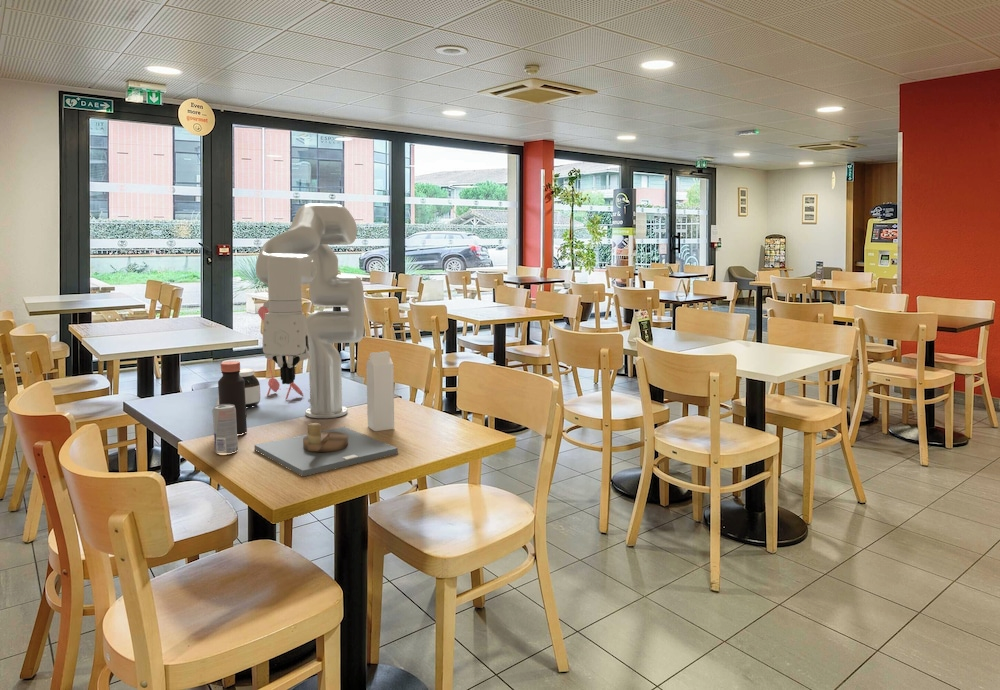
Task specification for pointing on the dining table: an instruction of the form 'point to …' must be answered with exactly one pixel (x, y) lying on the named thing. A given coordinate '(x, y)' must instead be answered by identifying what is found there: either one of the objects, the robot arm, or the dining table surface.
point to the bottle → (233, 392)
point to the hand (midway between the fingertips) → (288, 382)
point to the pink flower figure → (272, 381)
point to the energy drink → (225, 428)
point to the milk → (380, 391)
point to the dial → (323, 440)
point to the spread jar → (250, 387)
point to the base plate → (313, 462)
